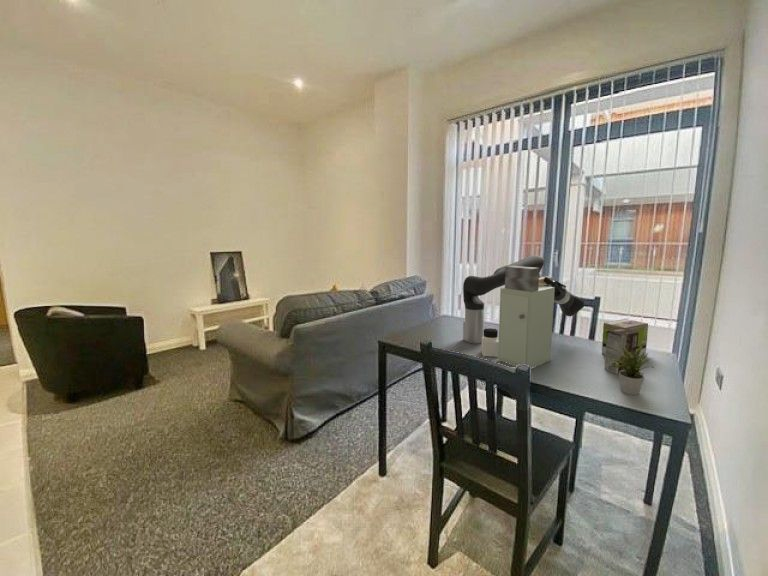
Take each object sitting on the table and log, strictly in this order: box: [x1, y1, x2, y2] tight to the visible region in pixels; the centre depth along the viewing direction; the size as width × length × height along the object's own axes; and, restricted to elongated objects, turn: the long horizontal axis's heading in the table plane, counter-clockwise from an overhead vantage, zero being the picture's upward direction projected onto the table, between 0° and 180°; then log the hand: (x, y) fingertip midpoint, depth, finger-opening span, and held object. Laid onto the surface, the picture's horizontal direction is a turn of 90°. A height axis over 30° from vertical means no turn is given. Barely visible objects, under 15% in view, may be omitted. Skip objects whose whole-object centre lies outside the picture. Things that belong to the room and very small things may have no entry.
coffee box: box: [603, 328, 639, 375], centre depth 136 cm, size 9×6×16 cm
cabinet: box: [497, 286, 555, 369], centre depth 147 cm, size 14×19×32 cm
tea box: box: [601, 318, 649, 358], centre depth 153 cm, size 15×10×15 cm
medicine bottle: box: [480, 327, 499, 358], centre depth 157 cm, size 7×7×12 cm
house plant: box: [609, 344, 656, 396], centre depth 120 cm, size 14×14×16 cm
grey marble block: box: [504, 265, 554, 292], centre depth 146 cm, size 12×24×9 cm, turn 125°
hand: (541, 278), depth 150 cm, fingers closed on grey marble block, 3 cm apart
